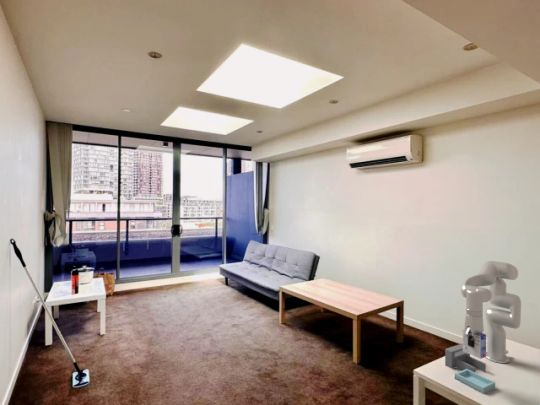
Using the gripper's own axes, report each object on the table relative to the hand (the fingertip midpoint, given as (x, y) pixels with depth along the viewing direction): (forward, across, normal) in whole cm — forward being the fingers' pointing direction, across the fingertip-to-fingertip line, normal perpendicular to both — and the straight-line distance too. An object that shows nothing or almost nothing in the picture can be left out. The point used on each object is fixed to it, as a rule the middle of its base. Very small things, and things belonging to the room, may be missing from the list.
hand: (474, 345), depth 168 cm
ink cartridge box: (+5, 0, 0) cm, 5 cm away
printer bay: (+21, -12, -11) cm, 27 cm away
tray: (+21, 0, 0) cm, 21 cm away
